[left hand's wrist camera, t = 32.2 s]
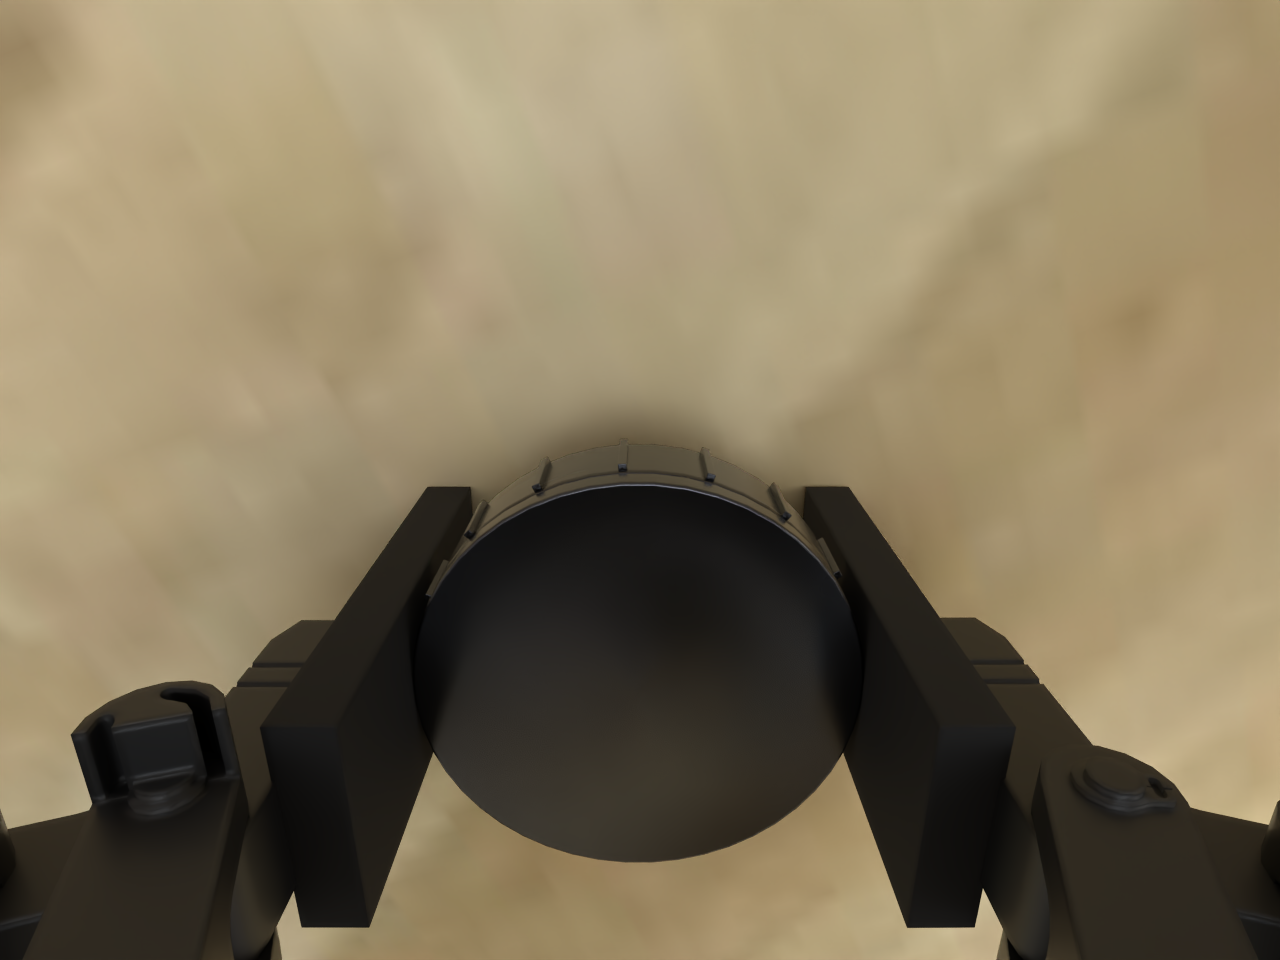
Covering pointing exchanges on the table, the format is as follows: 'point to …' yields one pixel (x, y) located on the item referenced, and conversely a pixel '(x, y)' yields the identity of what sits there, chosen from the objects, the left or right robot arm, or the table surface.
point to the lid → (638, 656)
